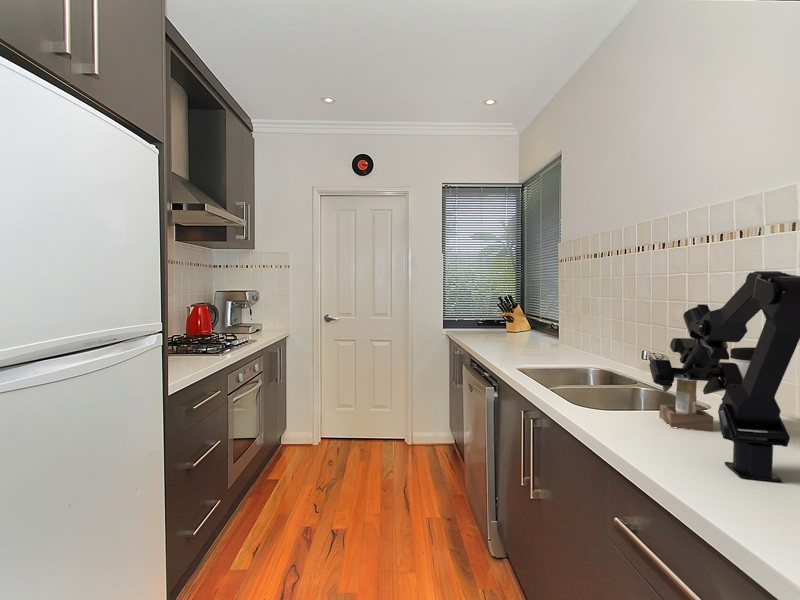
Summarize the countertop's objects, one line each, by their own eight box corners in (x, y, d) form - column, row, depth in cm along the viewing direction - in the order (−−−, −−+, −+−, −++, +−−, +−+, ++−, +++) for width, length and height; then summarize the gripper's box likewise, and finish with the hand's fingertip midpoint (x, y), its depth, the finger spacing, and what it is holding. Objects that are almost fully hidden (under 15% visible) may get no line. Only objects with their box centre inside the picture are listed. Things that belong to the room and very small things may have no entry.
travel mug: (757, 429, 106) (760, 348, 106) (725, 422, 111) (727, 345, 111) (762, 424, 110) (765, 346, 110) (730, 418, 115) (733, 343, 115)
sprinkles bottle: (700, 427, 108) (702, 373, 107) (683, 427, 107) (685, 373, 107) (686, 421, 112) (688, 369, 112) (670, 421, 112) (672, 370, 111)
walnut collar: (713, 431, 104) (713, 417, 104) (671, 427, 107) (671, 413, 107) (697, 420, 113) (698, 407, 113) (659, 417, 115) (659, 404, 115)
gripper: (739, 329, 103) (715, 367, 114) (652, 327, 107) (637, 363, 118) (757, 368, 96) (729, 404, 107) (663, 364, 100) (646, 399, 111)
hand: (683, 391), depth 111 cm, fingers open, 9 cm apart
